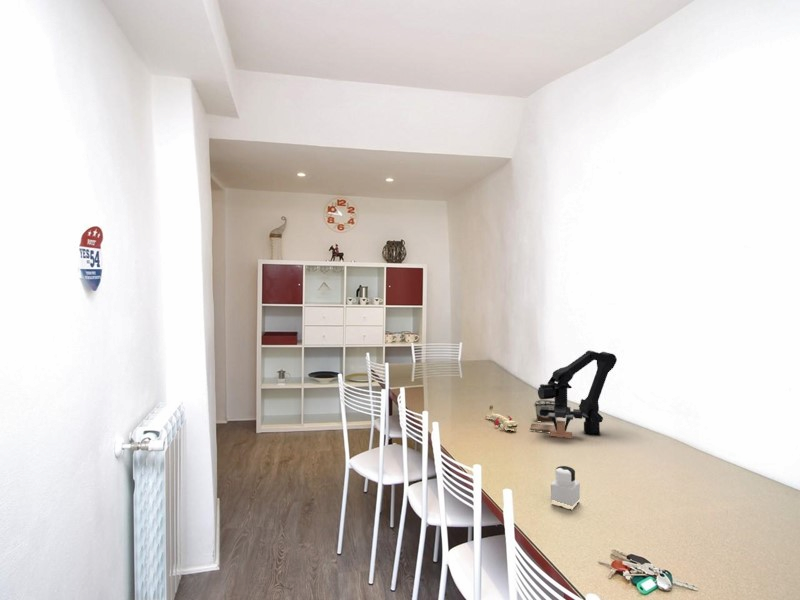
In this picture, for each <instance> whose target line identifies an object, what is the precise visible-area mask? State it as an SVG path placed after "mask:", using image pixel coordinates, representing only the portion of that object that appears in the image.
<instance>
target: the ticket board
mask: <svg viewBox="0 0 800 600" xmlns="http://www.w3.org/2000/svg"><path fill="white" fill-rule="evenodd" d="M529 430H535V431H542V432H550V430H554V431H556V429H555V426H554V424H543V423H533V422H532V423H531V424H530V427H529ZM542 432H541V433H542Z"/></svg>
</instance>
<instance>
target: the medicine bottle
mask: <svg viewBox="0 0 800 600" xmlns="http://www.w3.org/2000/svg"><path fill="white" fill-rule="evenodd" d="M580 490H581V489H580V481H578V480H576V471H575V469H574V468H572V467H570V466H567V465H560V466H557V467H556V468H555V479H554V480H553V482H551V484H550V501H551V500H555V501H557V502H560V503H564V504H567V505H570V506H573V505H574V504H575V503H576V502H577V501H578V500H579V499H581V497H580V493H581V491H580Z"/></svg>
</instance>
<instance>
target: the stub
mask: <svg viewBox="0 0 800 600" xmlns="http://www.w3.org/2000/svg"><path fill="white" fill-rule="evenodd" d="M556 421H557V431H554V430H550V433H549V437H551V436H557V437H556V438H563V437H565V438H564V439H566V438H567V439H573V431H567V430H566V431H565V424H566V420H556Z"/></svg>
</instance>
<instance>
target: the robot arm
mask: <svg viewBox="0 0 800 600" xmlns="http://www.w3.org/2000/svg"><path fill="white" fill-rule="evenodd" d="M593 361H596V372H595V375H594V377H593V381H592V383H591V385H590V389H589V392H588V395H587V396H586V398H585V399H583V398H581V399H580V404H579V405H578V408H577V409H574V408H573V410H571V406H568V389H572V388H573V387H572V386H571V385H570V384H569V382H570V381H571V380H572V379H573V378H574V375H576V374H577V373H578V372H579V371H581V370H582V369H584V368H585V367H587V365H589V364H590V363H592V362H593ZM617 361H618V360H617V357H616V354H615V353H611V352H607V351H601V352H597V351H593V350H587V351H586V352H585V353H583V354H582V355H580V356H579V357H578V358H576V359H575V360H573V361H572V362H571V363H569V364H568V365H566V366H564V367H560V368H558V369H556V370H554V371H553V372H552V376H551V377H550V379H549V380H548V382H547V383H545V384H543V383H541V384H540V385H539V387H538V390H537V396H538V397H539V399H540V400H552V399H553V401H554V410H549V407H541V408H540V415H541V416H547V415H548V414H549V418H551V419H552V421H553V422H552V423H553V425H554V426H555V429H556V431H557V421H558V420H557V418H562V419H565V431H566V432H567V429H568V426H569V423H570V421H571V420H572V421H573V420H574V419H579V420H581V419H584V421H583V432H584V434H585V435H594V436H596V435H597V436H601V429H600V426H601V425H600V423H602V422H603V420H604V417H603V416H602V414H600V413H599V410H600V405H599V399H600V397H601V394H602V392H603V389H604V386H605V382H606V379H607V377H608V374H609V372H611V371H612V370H613V369H614V367H615V365H616V364H617Z"/></svg>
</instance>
